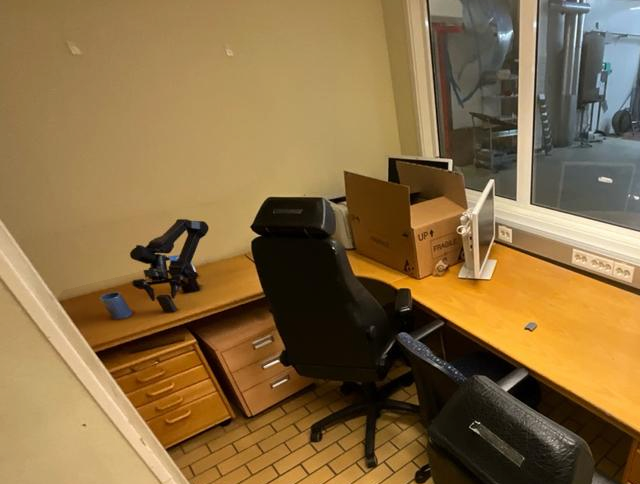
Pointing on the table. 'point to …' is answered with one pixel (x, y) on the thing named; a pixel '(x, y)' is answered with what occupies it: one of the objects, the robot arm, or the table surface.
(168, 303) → the ink cartridge
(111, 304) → the pen cup
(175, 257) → the tape cartridge
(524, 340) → the table surface
